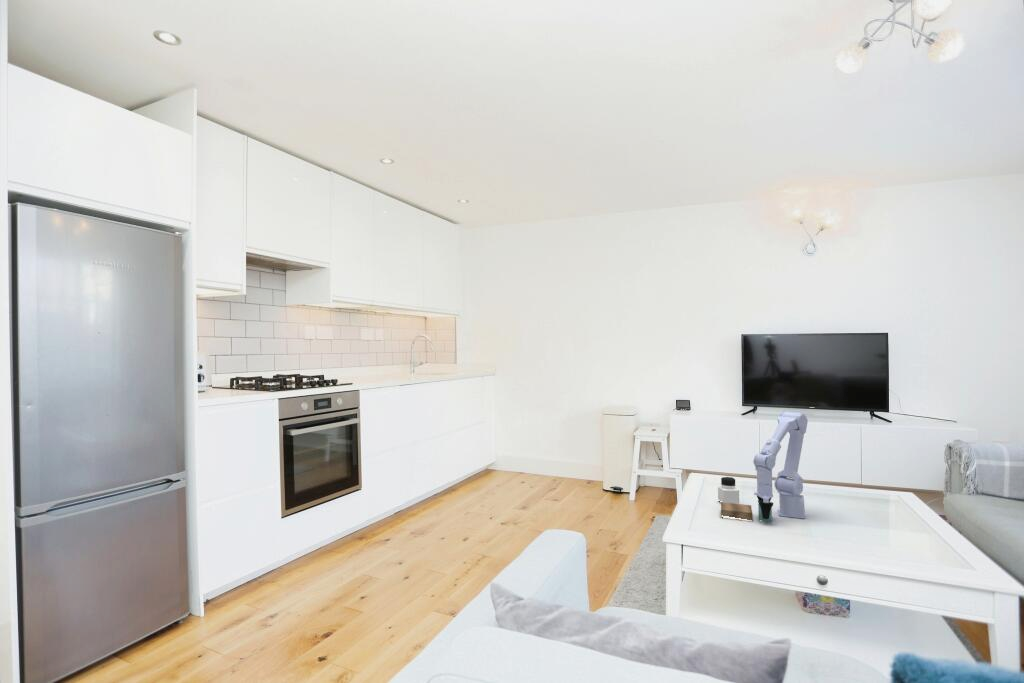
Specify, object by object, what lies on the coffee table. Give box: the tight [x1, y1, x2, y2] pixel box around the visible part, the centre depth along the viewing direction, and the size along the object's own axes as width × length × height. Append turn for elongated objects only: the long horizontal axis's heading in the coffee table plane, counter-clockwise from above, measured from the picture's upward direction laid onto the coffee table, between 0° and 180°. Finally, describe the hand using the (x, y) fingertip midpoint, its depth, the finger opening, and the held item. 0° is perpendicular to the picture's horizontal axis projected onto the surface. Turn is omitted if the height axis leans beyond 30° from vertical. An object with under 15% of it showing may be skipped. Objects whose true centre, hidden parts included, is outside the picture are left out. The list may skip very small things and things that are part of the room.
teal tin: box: [757, 503, 773, 523], centre depth 214 cm, size 5×5×6 cm
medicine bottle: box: [717, 476, 740, 504], centre depth 239 cm, size 7×7×12 cm
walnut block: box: [720, 502, 753, 521], centre depth 220 cm, size 12×12×4 cm
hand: (765, 516), depth 214 cm, fingers open, 7 cm apart
